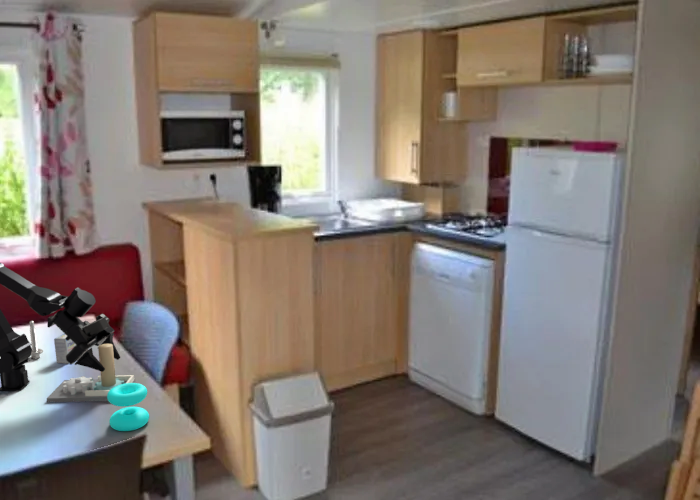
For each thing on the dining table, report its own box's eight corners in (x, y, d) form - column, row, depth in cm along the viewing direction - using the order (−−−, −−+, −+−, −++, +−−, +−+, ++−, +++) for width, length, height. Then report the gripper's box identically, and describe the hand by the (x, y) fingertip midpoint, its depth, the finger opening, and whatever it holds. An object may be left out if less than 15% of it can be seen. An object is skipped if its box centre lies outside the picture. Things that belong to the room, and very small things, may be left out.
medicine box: (68, 364, 215) (65, 339, 214) (56, 363, 216) (53, 338, 214) (82, 355, 223) (80, 331, 221) (70, 354, 224) (68, 330, 222)
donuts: (144, 378, 178) (149, 392, 169) (147, 412, 180) (151, 428, 171) (105, 384, 174) (108, 399, 165) (108, 419, 176) (111, 436, 167)
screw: (24, 358, 221) (38, 354, 225) (32, 361, 218) (46, 357, 222) (20, 321, 218) (34, 317, 222) (28, 324, 215) (42, 320, 219)
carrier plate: (47, 402, 187) (45, 389, 186) (64, 383, 200) (63, 371, 199) (122, 400, 188) (121, 387, 187) (135, 382, 200) (134, 370, 200)
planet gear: (96, 396, 188) (92, 353, 185) (91, 385, 195) (87, 344, 192) (127, 389, 192) (123, 347, 189) (121, 379, 199) (117, 339, 197)
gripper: (72, 318, 180) (113, 358, 181) (105, 299, 198) (143, 336, 199) (48, 344, 183) (89, 384, 184) (83, 323, 201) (120, 359, 202)
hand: (111, 364), depth 192 cm, fingers open, 9 cm apart
